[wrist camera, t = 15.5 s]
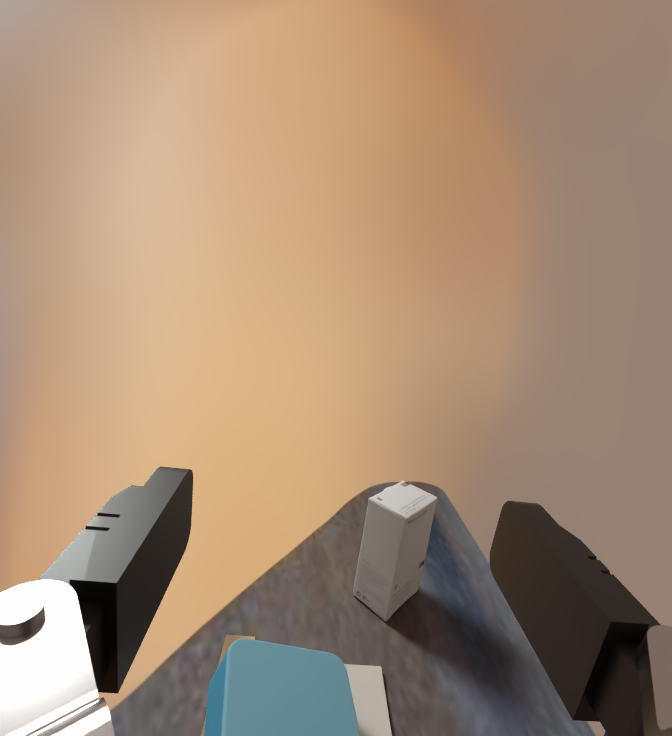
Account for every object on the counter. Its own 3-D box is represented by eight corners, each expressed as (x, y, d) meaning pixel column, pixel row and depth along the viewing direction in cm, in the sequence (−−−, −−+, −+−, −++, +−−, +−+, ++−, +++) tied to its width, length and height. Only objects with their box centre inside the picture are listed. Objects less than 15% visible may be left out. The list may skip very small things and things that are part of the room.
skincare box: (386, 624, 49) (407, 521, 45) (349, 593, 52) (366, 497, 49) (420, 589, 55) (441, 496, 51) (385, 564, 59) (402, 476, 55)
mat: (380, 670, 43) (381, 666, 43) (398, 788, 33) (399, 783, 33) (252, 663, 42) (252, 658, 42) (232, 782, 32) (232, 777, 32)
